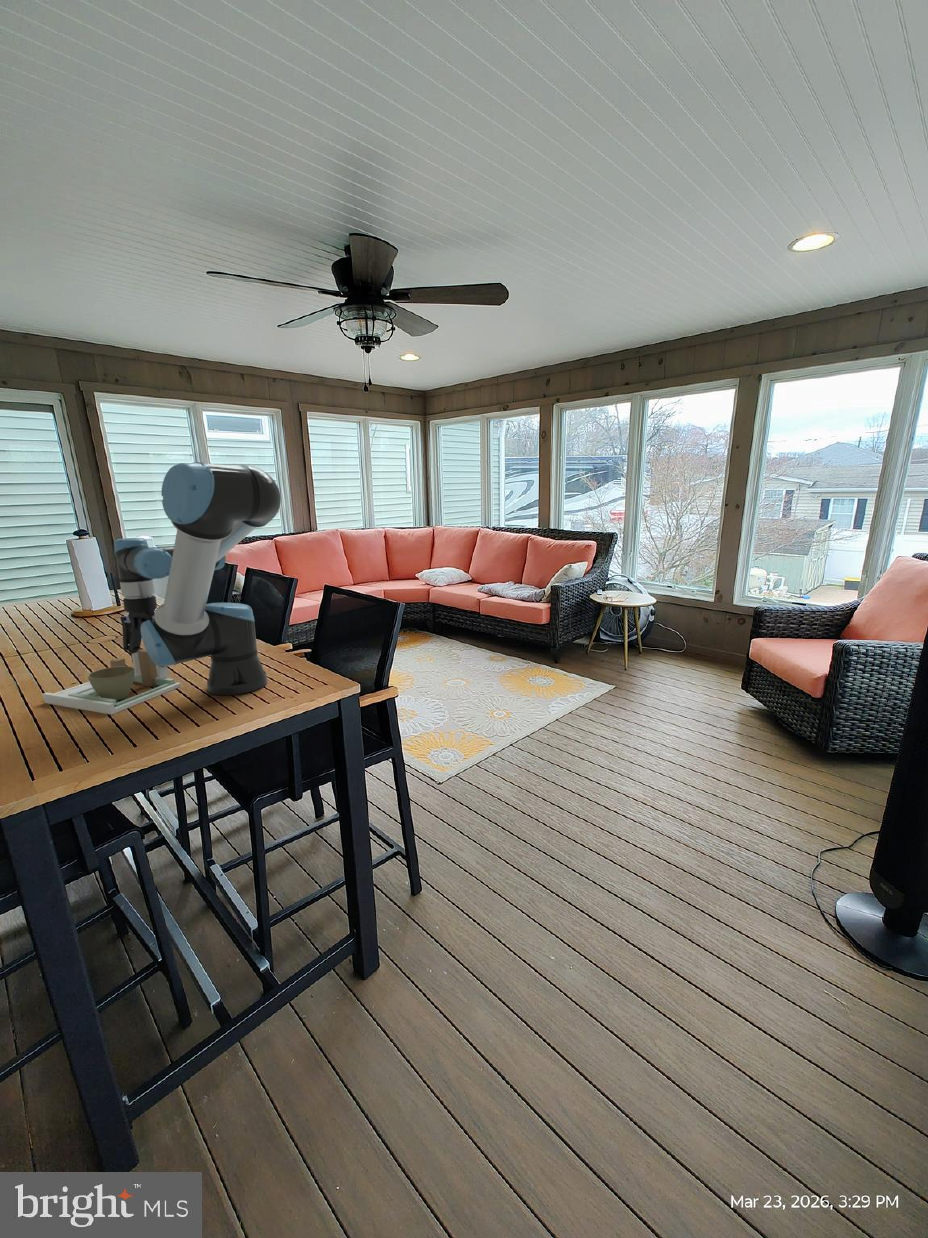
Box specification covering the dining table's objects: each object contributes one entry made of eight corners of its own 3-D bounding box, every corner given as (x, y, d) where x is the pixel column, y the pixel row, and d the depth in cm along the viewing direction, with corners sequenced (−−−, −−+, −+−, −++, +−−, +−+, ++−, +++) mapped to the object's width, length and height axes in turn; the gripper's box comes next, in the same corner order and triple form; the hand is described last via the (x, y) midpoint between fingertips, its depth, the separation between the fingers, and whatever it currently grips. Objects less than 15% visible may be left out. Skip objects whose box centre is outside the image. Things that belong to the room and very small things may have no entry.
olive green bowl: (115, 706, 126) (111, 679, 125) (82, 704, 128) (77, 677, 127) (147, 692, 136) (143, 666, 134) (116, 689, 138) (111, 664, 136)
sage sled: (178, 684, 141) (173, 650, 139) (112, 711, 124) (105, 672, 121) (139, 678, 146) (133, 645, 144) (70, 703, 128) (62, 666, 126)
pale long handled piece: (129, 678, 146) (126, 658, 145) (61, 702, 129) (57, 680, 128) (119, 677, 148) (116, 657, 146) (51, 700, 130) (46, 678, 129)
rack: (181, 686, 140) (180, 677, 139) (111, 714, 122) (109, 704, 121) (114, 676, 148) (112, 668, 147) (39, 702, 130) (37, 693, 129)
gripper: (180, 595, 136) (191, 675, 142) (124, 591, 143) (136, 668, 148) (155, 600, 130) (168, 684, 135) (97, 596, 136) (112, 676, 141)
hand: (151, 676), depth 141 cm, fingers closed on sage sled, 8 cm apart
